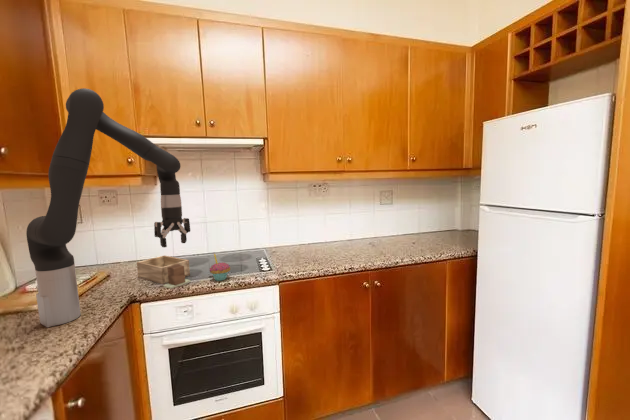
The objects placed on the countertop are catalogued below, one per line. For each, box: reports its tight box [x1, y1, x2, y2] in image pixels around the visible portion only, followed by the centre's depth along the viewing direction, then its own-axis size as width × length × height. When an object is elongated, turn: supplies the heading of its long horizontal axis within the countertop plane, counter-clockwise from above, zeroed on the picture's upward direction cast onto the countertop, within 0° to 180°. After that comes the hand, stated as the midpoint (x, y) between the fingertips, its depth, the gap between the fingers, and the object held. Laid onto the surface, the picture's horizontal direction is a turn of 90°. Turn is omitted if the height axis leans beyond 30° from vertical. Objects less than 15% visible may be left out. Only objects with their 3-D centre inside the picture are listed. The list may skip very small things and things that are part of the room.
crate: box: [136, 255, 191, 285], centre depth 132 cm, size 13×19×7 cm
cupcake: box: [209, 252, 231, 282], centre depth 127 cm, size 9×8×12 cm
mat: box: [162, 278, 191, 289], centre depth 122 cm, size 9×5×1 cm, turn 149°
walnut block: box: [167, 264, 186, 285], centre depth 122 cm, size 4×4×7 cm
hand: (174, 245), depth 120 cm, fingers open, 8 cm apart
